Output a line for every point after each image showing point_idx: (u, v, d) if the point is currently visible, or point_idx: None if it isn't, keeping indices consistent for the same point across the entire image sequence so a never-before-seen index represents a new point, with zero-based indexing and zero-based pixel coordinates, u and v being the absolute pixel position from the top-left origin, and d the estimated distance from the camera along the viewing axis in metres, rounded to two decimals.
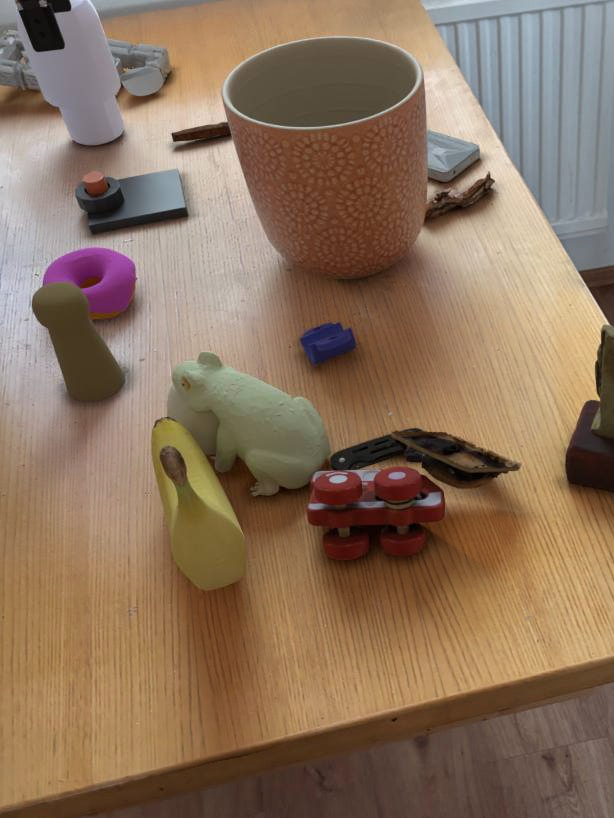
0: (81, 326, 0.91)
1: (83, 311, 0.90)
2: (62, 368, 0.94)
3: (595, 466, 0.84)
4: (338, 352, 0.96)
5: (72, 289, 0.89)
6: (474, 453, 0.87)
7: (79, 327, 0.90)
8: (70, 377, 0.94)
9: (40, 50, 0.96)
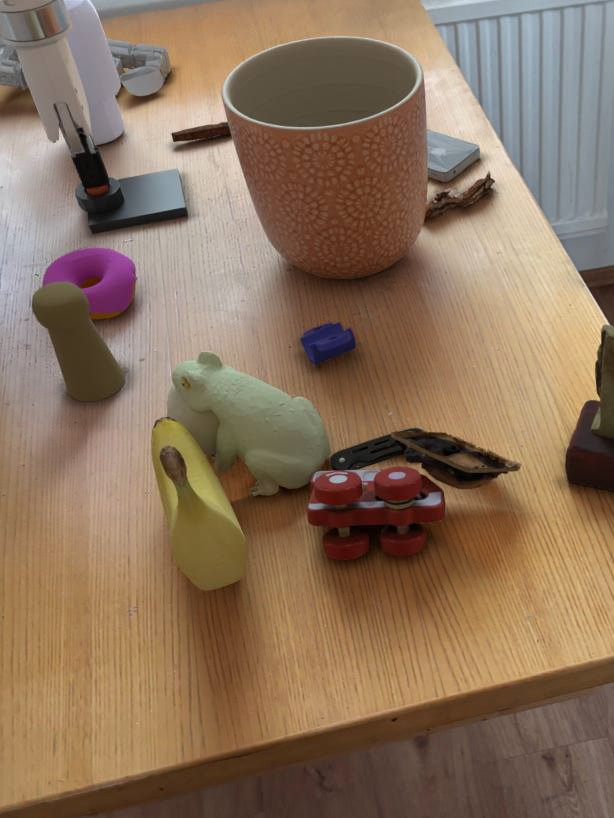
0: (81, 326, 0.91)
1: (83, 311, 0.90)
2: (62, 368, 0.94)
3: (595, 466, 0.84)
4: (338, 352, 0.96)
5: (72, 289, 0.89)
6: (474, 453, 0.87)
7: (79, 327, 0.90)
8: (70, 377, 0.94)
9: (88, 187, 1.14)
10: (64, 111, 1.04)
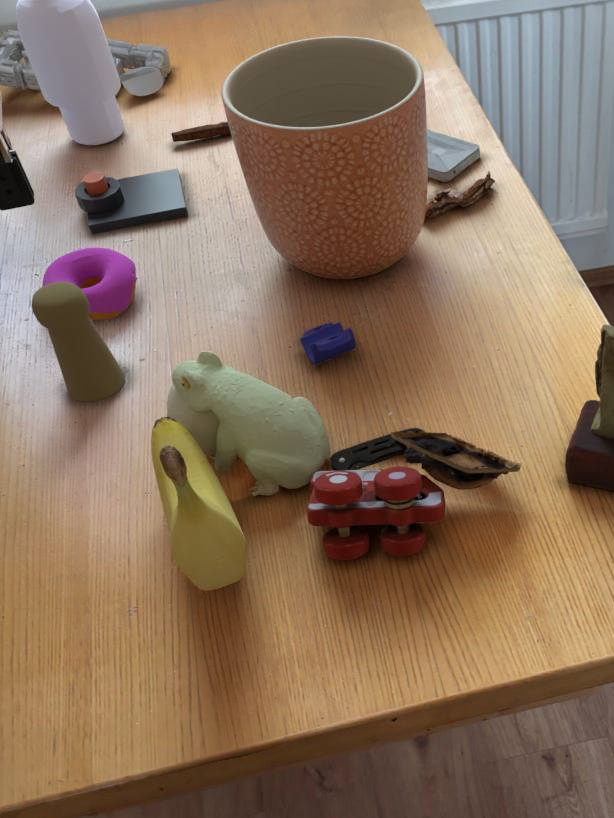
0: (81, 326, 0.91)
1: (83, 311, 0.90)
2: (62, 368, 0.94)
3: (595, 466, 0.84)
4: (338, 352, 0.96)
5: (72, 289, 0.89)
6: (474, 454, 0.87)
7: (79, 327, 0.90)
8: (70, 377, 0.94)
9: (6, 208, 0.82)
10: None
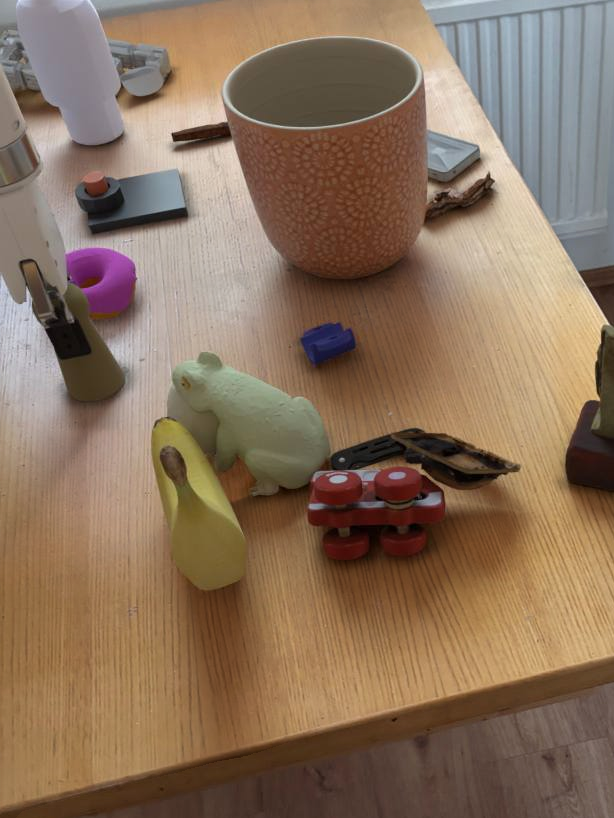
0: None
1: (83, 311, 0.90)
2: (62, 368, 0.94)
3: (595, 466, 0.84)
4: (338, 352, 0.96)
5: (73, 289, 0.89)
6: (474, 454, 0.87)
7: None
8: (70, 377, 0.94)
9: (66, 358, 0.91)
10: (30, 265, 0.81)
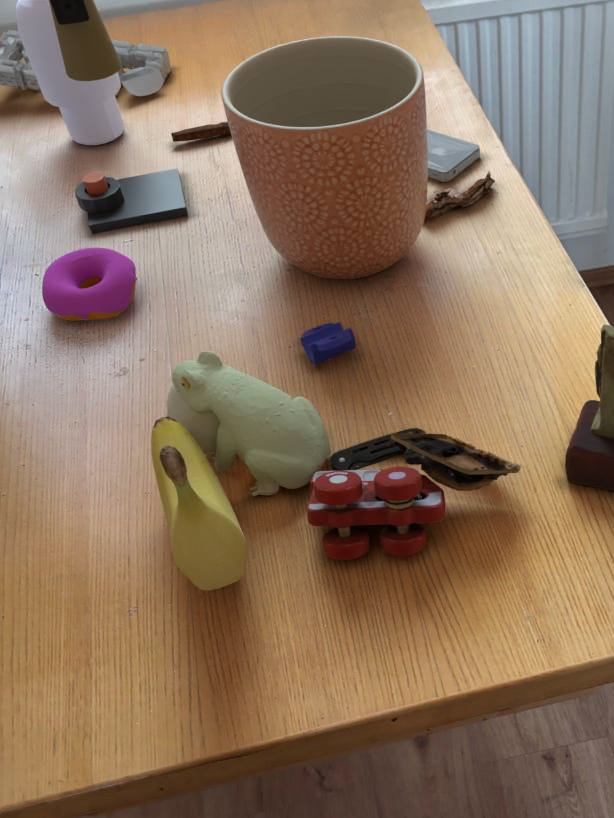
0: None
1: None
2: (61, 42, 0.98)
3: (595, 466, 0.84)
4: (338, 352, 0.96)
5: None
6: (474, 455, 0.87)
7: None
8: (69, 52, 0.98)
9: (64, 23, 0.95)
10: None
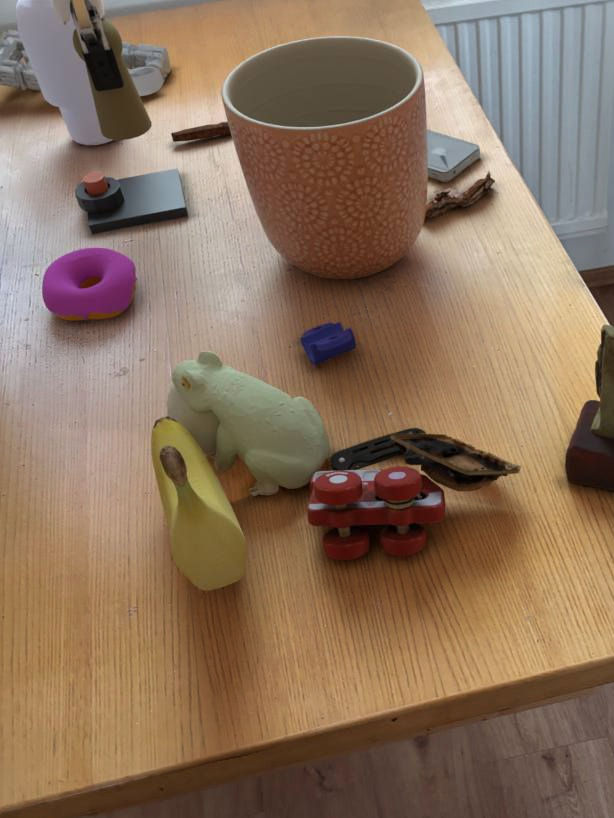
0: None
1: (117, 45, 1.03)
2: (97, 106, 1.07)
3: (595, 466, 0.84)
4: (338, 352, 0.96)
5: (108, 24, 1.02)
6: (474, 455, 0.87)
7: None
8: (105, 114, 1.07)
9: (101, 89, 1.04)
10: None
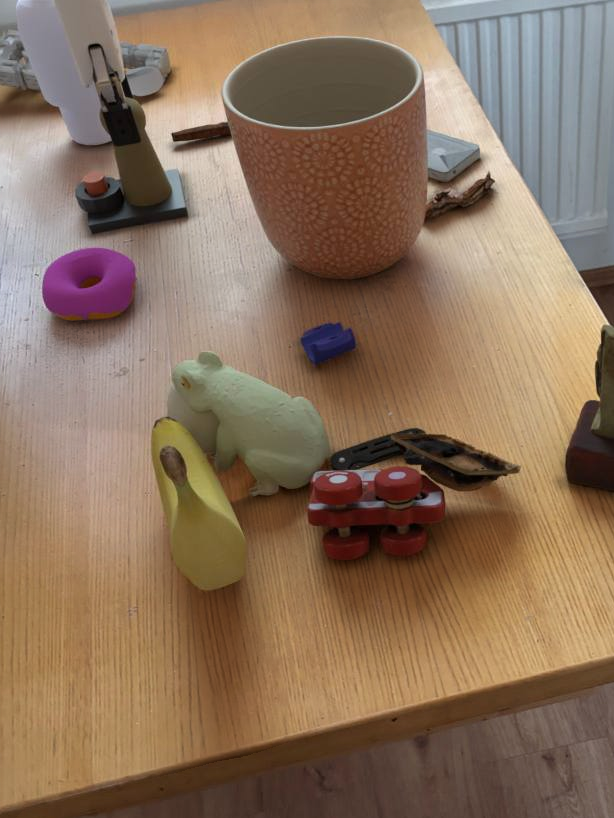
0: None
1: (141, 121, 1.09)
2: (122, 175, 1.13)
3: (595, 466, 0.84)
4: (338, 352, 0.96)
5: (133, 101, 1.09)
6: (474, 455, 0.87)
7: None
8: (129, 183, 1.14)
9: (119, 145, 1.07)
10: (95, 46, 0.99)
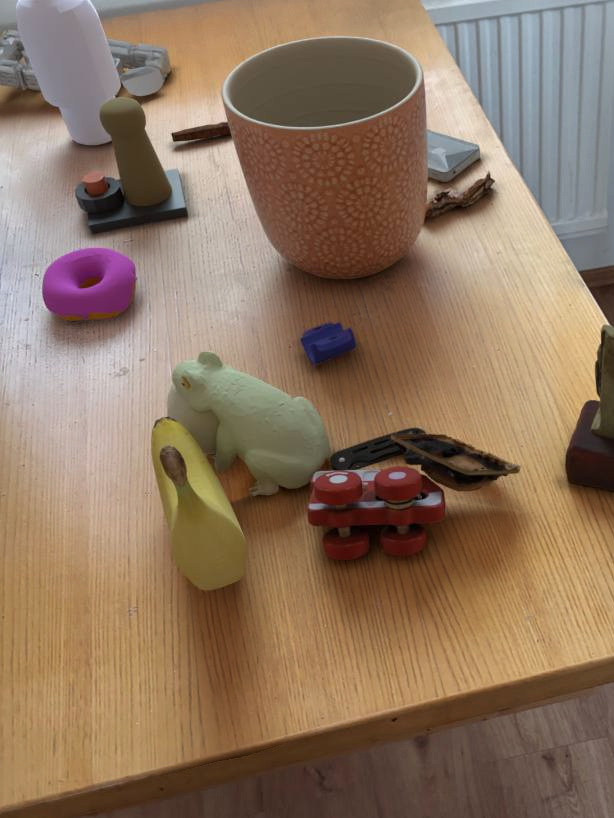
0: (139, 134, 1.10)
1: (141, 121, 1.09)
2: (122, 175, 1.13)
3: (595, 466, 0.84)
4: (338, 352, 0.96)
5: (133, 101, 1.09)
6: (474, 455, 0.87)
7: (137, 135, 1.10)
8: (129, 183, 1.14)
9: None
10: None
